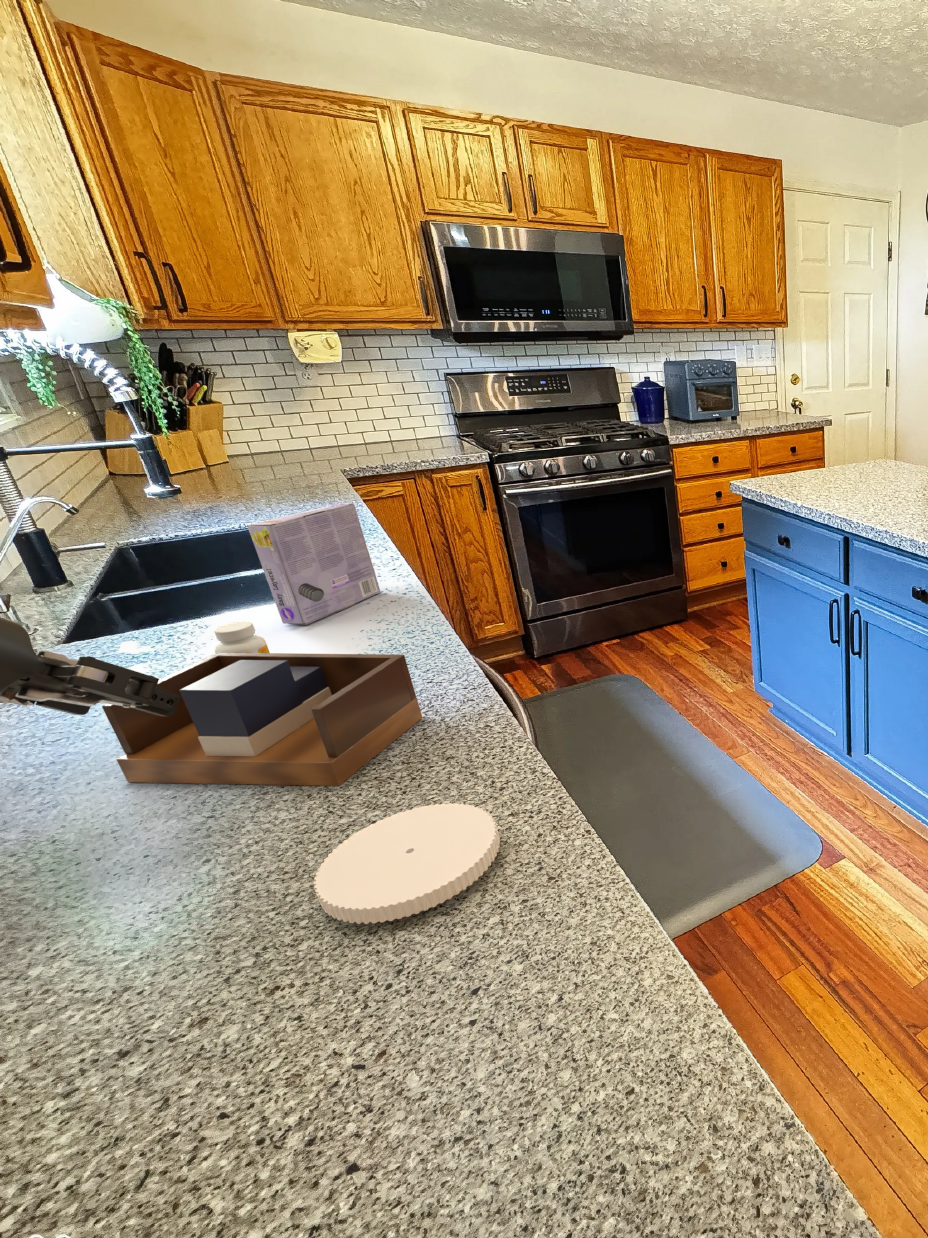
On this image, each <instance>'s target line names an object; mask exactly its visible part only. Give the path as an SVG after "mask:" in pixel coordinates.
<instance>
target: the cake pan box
mask: <svg viewBox="0 0 928 1238" xmlns="http://www.w3.org/2000/svg"><path fill="white" fill-rule="evenodd" d="M247 530H248V532H249V535H250V537H251V540H252V543H253V546H254V549H255V551H256V554H257V556H258V559H259V562H260V565H261V568H262V570H263V573H264V576H265V578H266V581H267V584H268V586H269V589H270V592H271V595H272V597H273V600H274V602H275V605H276V606H275V607H276V609H277V611H278V614H279V617H280V619H281V622H282V624H285V625H298V626H307V625H309V624H312V623H314V622H317V621H318V620H321V619H323V618H325V617H328V616H331V615H332V614H334V613H338V612H341V611H343V610H345V609H347V608H350V607H352V606H355V604H357V603H359V602H362V601H364V600H366V599H368V598H370V597H371V598H372V597H373V596H375V595H378V594H380V593H381V589H380V585H379V582H378V579H377V574H376V571H375V568H374V565H373V561H372V558H371V556H370V553H369V548H368V546H367V542H366V538H365V535H364V532H363V529H362V524H361V522H360V518H359V515H358V511H357V509H356V504H354V502H352V503H351V502H349V503H338V504H330V505H326V506H322V507H318V508H315V509H314V508H313V509H310V510H306V511H301V512H297V513H293V514H292V513H291V514H287V515H284V516H280V517H276V518H272V519H268V520H263V521H259V522H255V523H251V524H247Z"/></svg>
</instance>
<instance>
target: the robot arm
mask: <svg viewBox="0 0 928 1238" xmlns="http://www.w3.org/2000/svg"><path fill="white" fill-rule="evenodd" d="M159 679H160V678H159V677H156V676H155V675H150V674H146V673H142V672H140V671H136V670H133V669H129V668H126V667H124V666H120V665H118V664H114V663H111V662H107V661H104V660H101V659H99V658H96V657H94V656H90V655H89V656H79V658H78V660H76V659H71V658H69V657H67V656H66V655H65V654H63V653H58V652H52V651H47V650H37V651H36V652H35V650H34V648H33V645H32V640H31V637H30V634H29V632H28V631H27V629H26V628H25V627H24V626H23V625H21V624H20V623H18V622H16V621H14V620H12V619H9V618H6V617H3V616H1V615H0V704H12V705H19V706H22V707H27V706H38V707H42V708H46V709H49V710H53V711H57V712H63V713H65V714H66V713H67V714H70V715H75V716H84V715H86V714H88V713H89V711H90V709H91V708H92V707H93V706H95V705H97V704H100V703H102V704H113V705H119V706H122V707H125V708H134V709H137V710H141V711H144V712H148V713H151V714H155V715H158V716H167V717H170V716H173V715H174V714H175V712H176V709H177V707H178V704H179V702H180V695H179V694H176V693H173V692H170V691H167V690H164V689H161V688H157V687H156V686H157V683H158V681H159Z"/></svg>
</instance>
